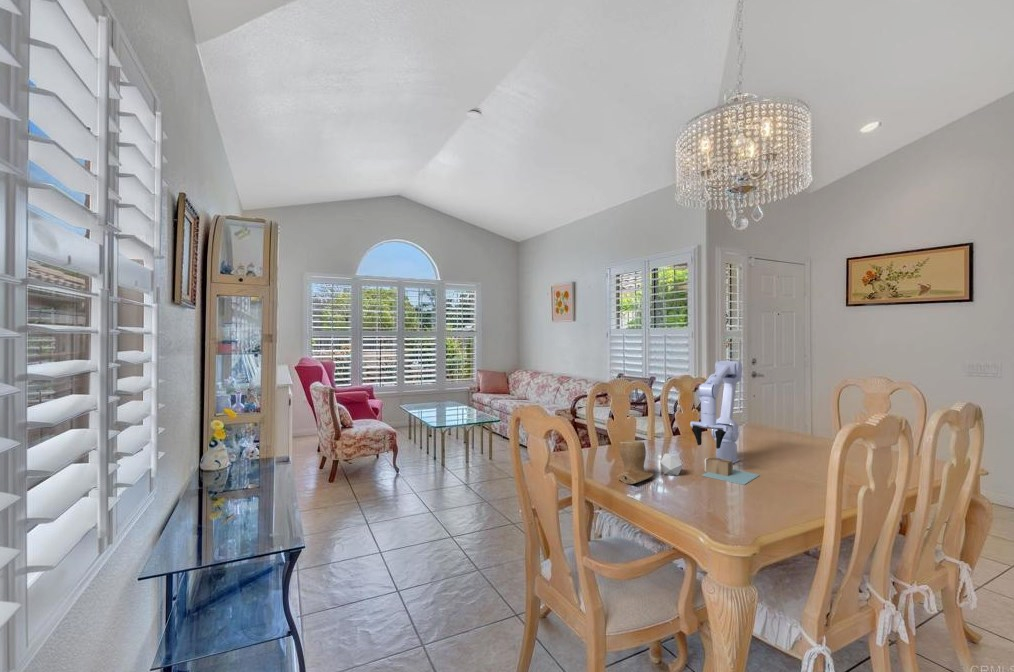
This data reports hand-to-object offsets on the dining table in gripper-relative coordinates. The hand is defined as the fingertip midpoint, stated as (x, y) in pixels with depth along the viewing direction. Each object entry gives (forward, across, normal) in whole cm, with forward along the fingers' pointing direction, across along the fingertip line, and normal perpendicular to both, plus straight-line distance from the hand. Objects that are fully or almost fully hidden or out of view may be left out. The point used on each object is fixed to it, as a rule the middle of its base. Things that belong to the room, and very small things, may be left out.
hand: (708, 446), depth 190 cm
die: (+10, -9, -14) cm, 20 cm away
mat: (+10, +8, 0) cm, 13 cm away
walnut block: (+7, -1, 0) cm, 7 cm away
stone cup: (+10, -16, -31) cm, 36 cm away
